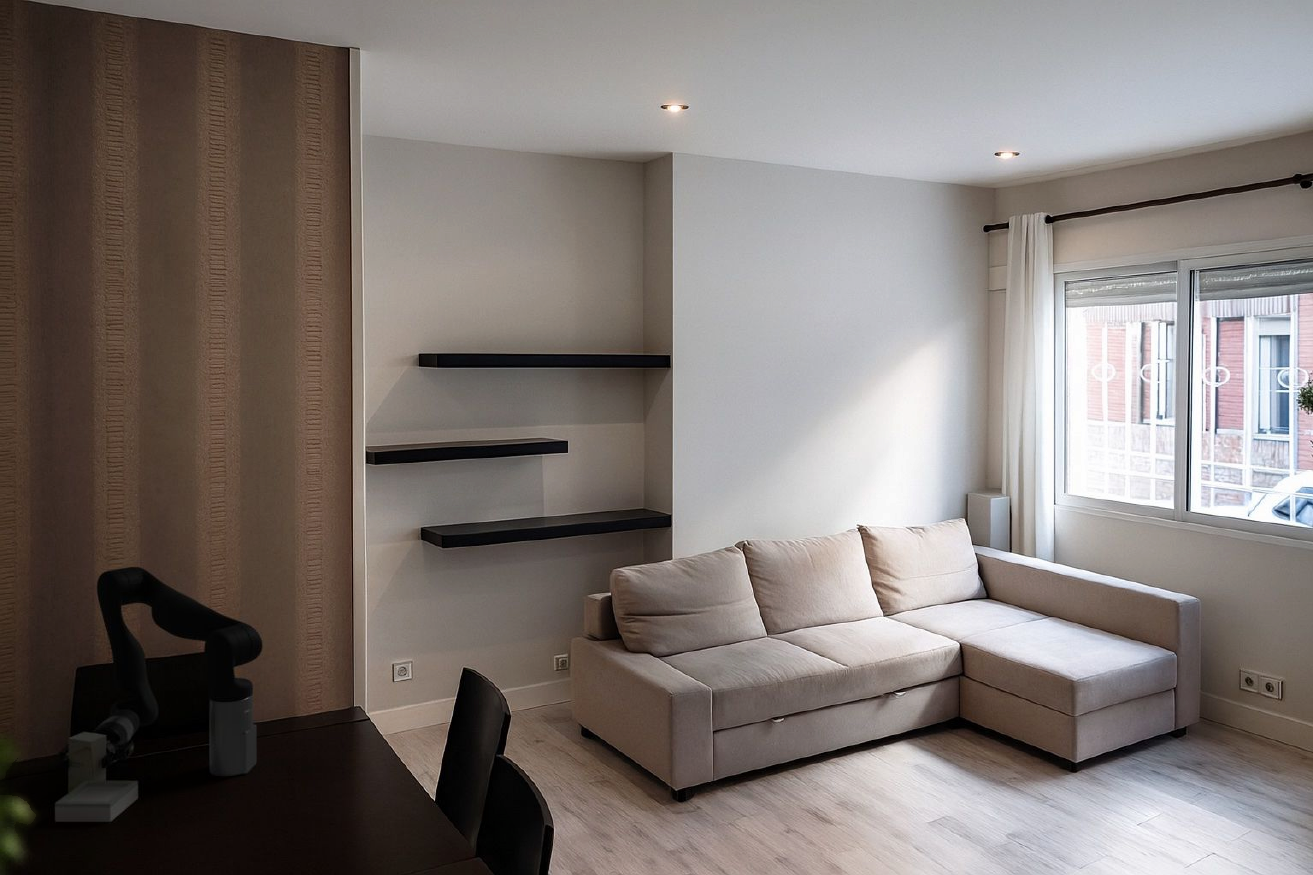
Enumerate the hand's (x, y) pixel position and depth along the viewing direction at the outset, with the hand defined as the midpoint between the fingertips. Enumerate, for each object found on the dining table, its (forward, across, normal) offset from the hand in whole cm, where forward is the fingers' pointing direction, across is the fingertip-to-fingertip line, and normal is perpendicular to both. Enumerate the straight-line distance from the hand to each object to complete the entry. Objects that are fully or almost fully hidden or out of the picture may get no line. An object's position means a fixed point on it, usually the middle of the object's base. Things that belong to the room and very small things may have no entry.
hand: (83, 765), depth 204 cm
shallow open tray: (+8, +5, +6) cm, 12 cm away
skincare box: (-2, 0, +7) cm, 7 cm away
